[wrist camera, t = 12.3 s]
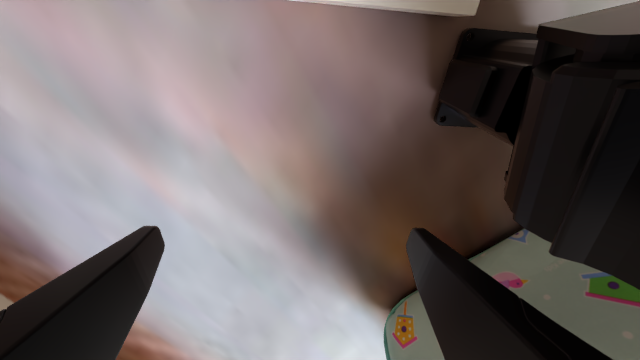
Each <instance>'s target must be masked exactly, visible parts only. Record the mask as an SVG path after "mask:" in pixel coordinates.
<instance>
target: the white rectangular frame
mask: <svg viewBox="0 0 640 360" xmlns="http://www.w3.org/2000/svg"><path fill="white" fill-rule="evenodd" d="M291 1H301V2H311V3H321V4H331V5H341V6H351V7H361V8H372V9H382V10H392V11H402V12H412V13H422V14H432V15H442V16H453V17H462V16H475V14H476V11H477V8H478V5H479V2H480V0H291Z"/></svg>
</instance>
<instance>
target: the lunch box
mask: <svg viewBox="0 0 640 360" xmlns="http://www.w3.org/2000/svg"><path fill="white" fill-rule="evenodd" d="M551 244H552V243H550V242H548V241H546V240H543V239H542V238H540V237H538V236H536V235H535V234H533V233H531V232H529V231H528V230H526V229H525V228H524V229H522V230H520V231H519V232H517V233H515V234H514V235H512V236H510V237H509V238H507V239H505V240H503V241H502V242H500V243H498V244H496V245H495V246H493V247H491V248H489V249H487V250H485V251H484V252H482V253H480V254H478V255H476V256H474V257H472V258H470V259H468V260H469V261H470V262H472V263H473V264H475V265H476V266H477V267H479V268H480V269H481V270H483V271H484V272H486V273H487V274H488V275H490V276H491V277H493V278H494V279H495V280H497V281H498V282H500V283H501V284H502V285H504V286H505V287H507V288H508V289H509V290H511V291H512V292H513V293H515V294H516V295H518V297H519V298H522V299H523V300H525V301H526V302H528V303H529V304H530V305H532V306H533V307H534V308H536V309H537V310H539V311H540V312H542V313H543V314H545V315H546V316H547V317H549V318H550V319H552V320H553V321H555V322H556V323H558V324H559V325H561V326H562V327H564V328H565V329H567V330H568V331H570V332H571V333H573V334H574V335H576V336H577V337H579V338H580V339H582V340H584V341H585V342H587V343H588V344H590V345H591V346H593V347H594V348H596V349H598V350H599V351H601V352H602V353H604V354H605V355H607V356H608V357H610V358H611V359H613V360H640V290H639V289H637V288H635V287H633V286H631V285H629V284H627V283H626V282H624V281H622V280H620V279H618V278H616V277H614V276H612V275H609V274H607V273H604V272H602V271H599V270H597V269H594V268H592V267H589V266H587V265H584V264H581V263H577V262H573V261H570V260H566V259H562V258H558V257H555V256H552V255H551V254H550V253H549V249H550V247H551ZM384 347H385V353H386V358H387V360H445V359H444V356H443V354H442V351H441V349H440V346H439V343H438V341H437V338H436V336H435V333H434V331H433V328H432V325H431V323H430V320H429V318H428V315H427V313H426V310H425V307H424V305H423V302H422V300H421V297H420V295H419V292H418V290H417V291H415V292H413V293H411V294H410V295H408V296H406V297H405V298H404V299H402V300H401V301H400V302H399V303H398V304H397V305H396V306H395V307H394V308H393V309H392V310H391V312H390V313H389V315H388V317H387V320H386V323H385V328H384Z"/></svg>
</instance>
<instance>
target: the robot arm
mask: <svg viewBox="0 0 640 360" xmlns="http://www.w3.org/2000/svg"><path fill="white" fill-rule="evenodd" d="M469 33H470V34H471V38H470V39H469V40H468V41H467V36H468V34H469ZM439 99H440V101H439V104H438V107H437V111H436V114H435V117H434V121H435V122H436V123H437V124H438V125H442V126H461V127H479V128H481V129H483V130H485V131H487V132H488V133H490V134H492V135H494V136H496V137H497V138H499V139H501V140H503V141H505V142H506V143H508V144H510V145H512V146H513V151H512V155H511V159H510V164H509V168H508V171H506V172H505V177H504V180H505V182H506V184H505V188H504V200H505V201H506V203H507V204H508V206H509V208H510V209H511V211H512V212H513V213H514V214H513V219H514V220H515V221H516V222H517V223H519V224H520V225H521V226H522V227H524V228H525V229H526V230H528V231H529V232H531V233H533V234H535V235H536V236H538V237H540V238H542V239H543V240H546V241H548V242H550V243H552V244H551V247H550V249H549V253H550V254H551V255H552V256H555V257H558V258H562V259H566V260H570V261H573V262H577V263H581V264H584V265H587V266H589V267H592V268H594V269H597V270H599V271H602V272H604V273H607V274H609V275H612V276H614V277H616V278H618V279H620V280H622V281H624V282H626V283H627V284H629V285H631V286H633V287H635V288H637V289H639V290H640V1H638V2H634V3H629V4H625V5H621V6H616V7H612V8H608V9H603V10H599V11H595V12H590V13H586V14H582V15H577V16H573V17H569V18H565V19H560V20H556V21H552V22H547V23H543V24H539V27H538V31H537V34H530V33H519V32H508V31H498V30H487V29H477V28H468V29H466V30H464V31H463V32H462V34H461V36H460V38H459V41H458V45H457V48H456V51H455V54H454V57H453V60H452V62H451V63H450V64H449V67H448V71H447V74H446V77H445V80H444V83H443V86H442V90H441V93H440V96H439ZM442 116H444V118H443V119H442V120H441V121H440V118H441V117H442ZM164 247H165V244H164V241H163V238H162V235H161V232H160V229H159V228H158V227H157V226H143V227H141V228H140V229H138V230H136V231H135V232H133V233H131V234H130V235H128V236H126V237H124V238H123V239H121V240H119V241H118V242H116V243H114V244H113V245H111V246H109V247H108V248H106V249H104V250H103V251H101V252H99V253H98V254H96V255H94V256H93V257H91V258H89V259H88V260H86V261H84V262H82V263H81V264H79V265H77V266H76V267H74V268H72V269H71V270H69V271H67V272H66V273H64V274H62V275H61V276H59V277H57V278H56V279H54V280H52V281H51V282H49V283H47V284H45V285H44V286H42V287H40V288H39V289H37V290H35V291H34V292H32V293H30V294H29V295H27V296H25V297H24V298H22V299H20V300H19V301H17V302H15V303H14V304H12V305H10V306H9V307H7V309H4V310H2V311H0V360H116V358H117V356H118V354H119V351H120V349H121V347H122V345H123V343H124V341H125V339H126V337H127V335H128V333H129V331H130V329H131V327H132V325H133V323H134V321H135V319H136V317H137V315H138V313H139V311H140V309H141V307H142V305H143V303H144V301H145V299H146V296H147V294H148V292H149V290H150V287H151V284H152V282H153V279H154V276H155V273H156V271H157V268H158V265H159V263H160V260H161V257H162V254H163V252H164ZM406 249H407V253H408V257H409V261H410V264H411V268H412V272H413V275H414V279H415V283H416V286H417V289H418V292H419V295H420V297H421V300H422V302H423V305H424V307H425V310H426V313H427V315H428V318H429V320H430V323H431V325H432V328H433V331H434V333H435V336H436V338H437V341H438V343H439V346H440V349H441V351H442V354H443V356H444V359H445V360H613V359H611V358H610V357H608V356H607V355H605V354H604V353H602V352H601V351H599V350H598V349H596V348H594V347H593V346H591V345H590V344H588V343H587V342H585V341H584V340H582V339H580V338H579V337H577V336H576V335H574V334H573V333H571V332H570V331H568V330H567V329H565V328H564V327H562V326H561V325H559V324H558V323H556V322H555V321H553V320H552V319H550V318H549V317H547V316H546V315H545V314H543V313H542V312H540V311H539V310H537V309H536V308H534V307H533V306H532V305H530V304H529V303H528V302H526V301H525V300H523V299H522V298H519V297H518V295H516V294H515V293H513V292H512V291H511V290H509V289H508V288H507V287H505V286H504V285H502V284H501V283H500V282H498V281H497V280H495V279H494V278H493V277H491V276H490V275H488V274H487V273H486V272H484V271H483V270H481V269H480V268H479V267H477V266H476V265H475V264H473V263H472V262H470V261H469V260H468V259H466V258H465V257H463V256H462V255H461V254H459V253H458V252H456V251H455V250H454V249H452V248H451V247H449V246H448V245H447V244H445V243H444V242H442V241H441V240H440V239H438V238H437V237H436V236H434V235H433V234H431V233H430V232H429V231H427V230H426V229H424V228H413V229H412V230H411V232H410V235H409V238H408V241H407V244H406Z"/></svg>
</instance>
